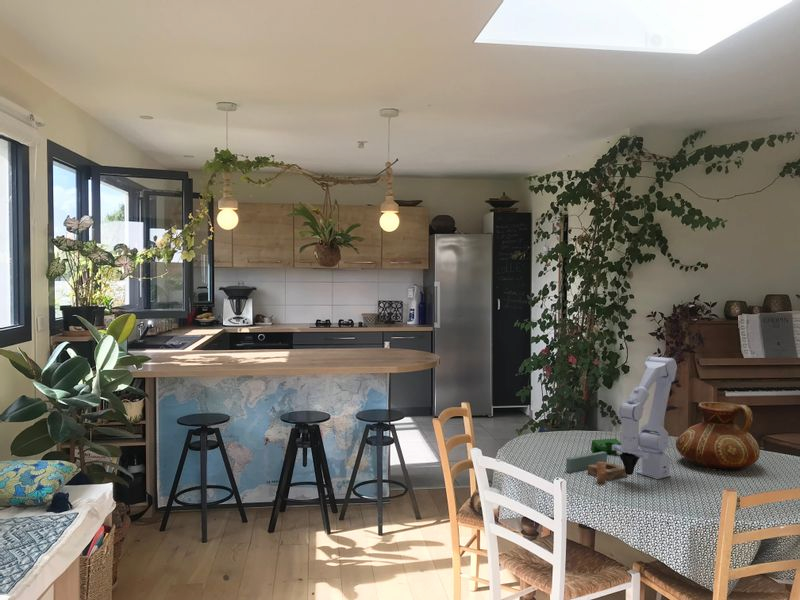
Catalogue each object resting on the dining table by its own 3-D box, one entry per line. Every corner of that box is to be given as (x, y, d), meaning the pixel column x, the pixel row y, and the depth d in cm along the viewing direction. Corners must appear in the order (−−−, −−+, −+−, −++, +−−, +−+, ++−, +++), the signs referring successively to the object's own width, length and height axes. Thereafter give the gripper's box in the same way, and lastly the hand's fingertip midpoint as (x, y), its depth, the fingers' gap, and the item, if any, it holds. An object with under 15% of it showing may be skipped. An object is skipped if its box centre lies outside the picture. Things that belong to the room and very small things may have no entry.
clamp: (600, 466, 271) (596, 448, 268) (593, 459, 277) (588, 441, 274) (626, 454, 273) (621, 436, 270) (618, 447, 279) (613, 430, 275)
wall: (606, 465, 257) (606, 452, 257) (570, 472, 247) (570, 459, 246) (602, 463, 259) (602, 451, 259) (566, 471, 248) (566, 458, 248)
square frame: (627, 476, 243) (627, 468, 242) (608, 480, 237) (608, 472, 237) (606, 469, 251) (606, 461, 251) (587, 473, 246) (587, 465, 246)
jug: (671, 468, 253) (673, 404, 253) (678, 450, 280) (679, 392, 279) (760, 479, 239) (761, 411, 239) (758, 460, 266) (760, 398, 265)
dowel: (607, 482, 235) (607, 463, 235) (601, 483, 233) (601, 464, 233) (600, 480, 237) (601, 461, 237) (595, 481, 236) (595, 462, 236)
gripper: (606, 433, 239) (605, 470, 240) (639, 442, 227) (638, 481, 227) (619, 431, 243) (618, 468, 243) (652, 439, 231) (652, 478, 231)
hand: (629, 474), depth 236 cm, fingers closed
